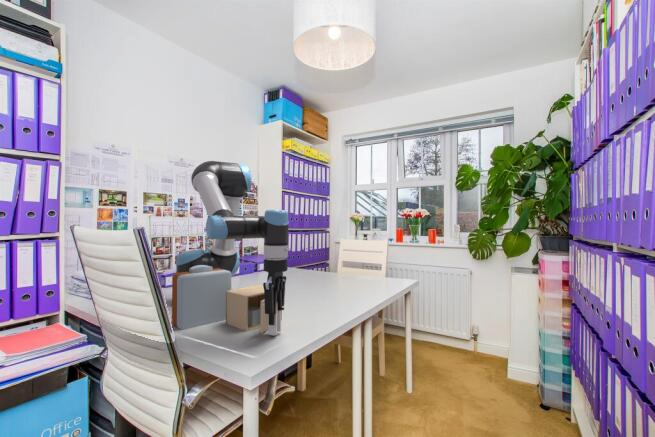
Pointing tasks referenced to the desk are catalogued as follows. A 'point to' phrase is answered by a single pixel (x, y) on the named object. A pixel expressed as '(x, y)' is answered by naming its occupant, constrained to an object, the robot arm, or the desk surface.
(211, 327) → the desk surface
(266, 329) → the flap
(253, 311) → the contents block
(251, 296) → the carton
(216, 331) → the desk surface
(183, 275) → the grey rounded slab
